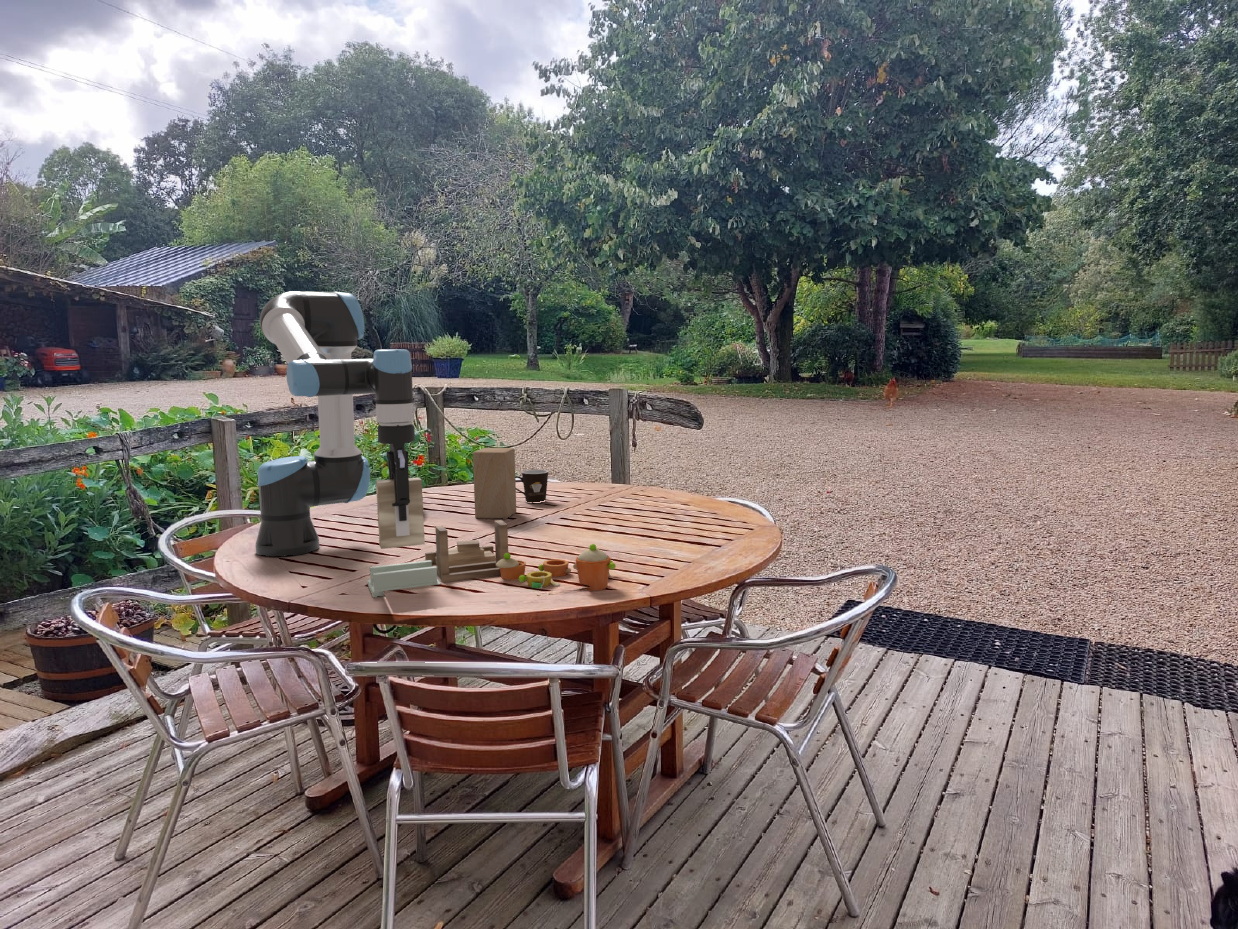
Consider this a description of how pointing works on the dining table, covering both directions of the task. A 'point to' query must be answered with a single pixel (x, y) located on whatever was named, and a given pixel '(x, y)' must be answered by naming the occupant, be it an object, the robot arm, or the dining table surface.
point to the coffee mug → (534, 485)
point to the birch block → (387, 515)
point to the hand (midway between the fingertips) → (401, 533)
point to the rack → (468, 556)
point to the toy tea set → (562, 570)
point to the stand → (401, 576)
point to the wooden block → (494, 482)
